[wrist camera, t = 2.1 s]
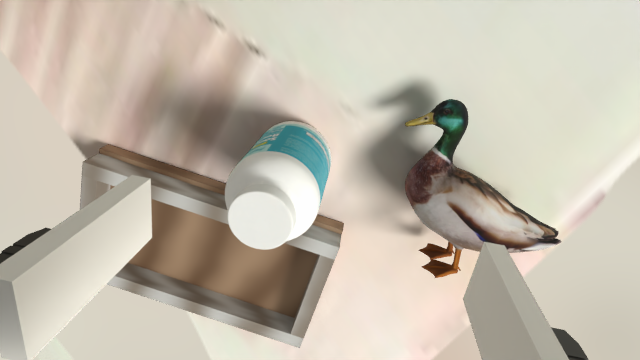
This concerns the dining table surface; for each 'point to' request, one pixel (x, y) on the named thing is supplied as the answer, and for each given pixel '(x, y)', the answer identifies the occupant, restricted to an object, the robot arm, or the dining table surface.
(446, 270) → the decorative duck model
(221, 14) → the dining table surface
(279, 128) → the pill bottle
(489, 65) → the dining table surface
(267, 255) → the grey rimmed shallow tray
